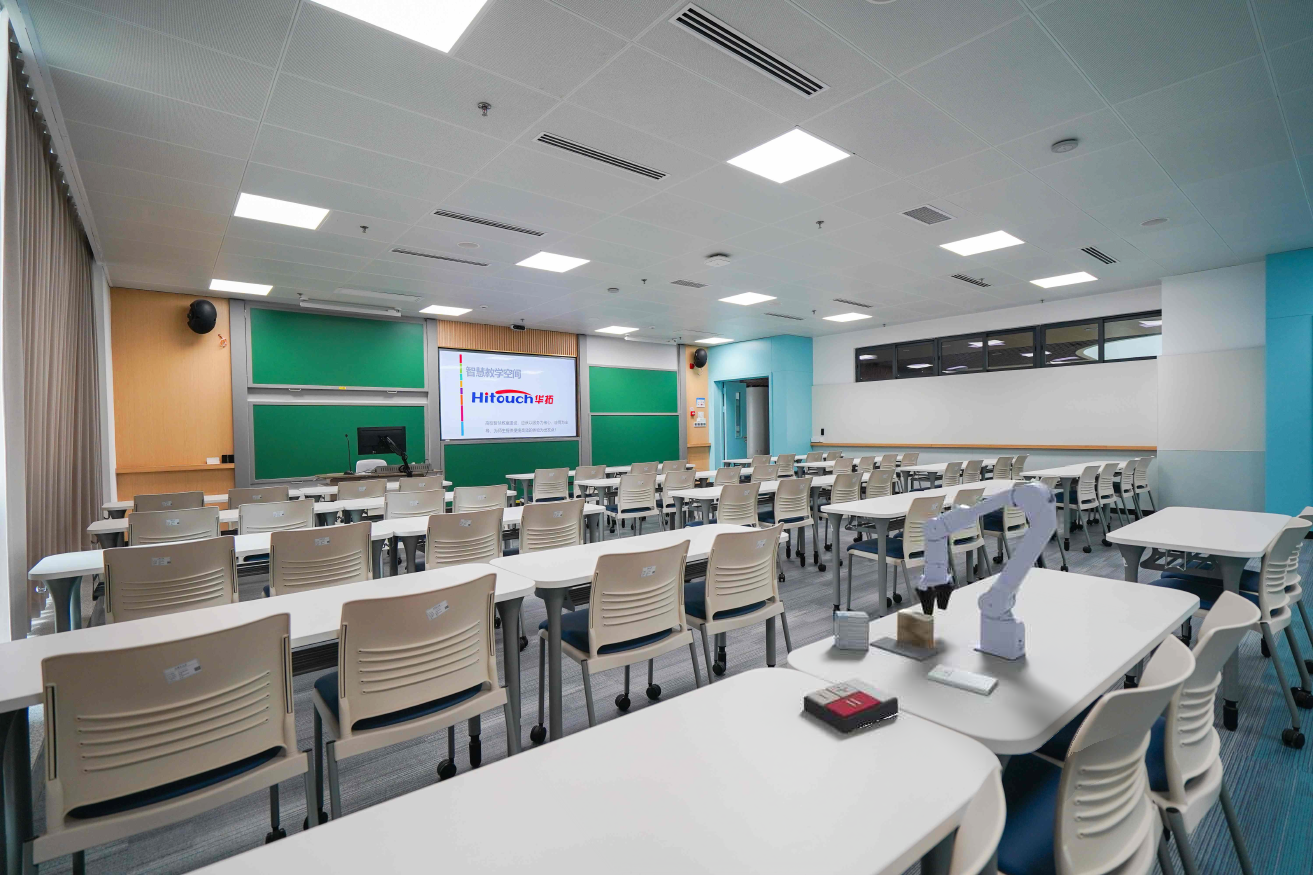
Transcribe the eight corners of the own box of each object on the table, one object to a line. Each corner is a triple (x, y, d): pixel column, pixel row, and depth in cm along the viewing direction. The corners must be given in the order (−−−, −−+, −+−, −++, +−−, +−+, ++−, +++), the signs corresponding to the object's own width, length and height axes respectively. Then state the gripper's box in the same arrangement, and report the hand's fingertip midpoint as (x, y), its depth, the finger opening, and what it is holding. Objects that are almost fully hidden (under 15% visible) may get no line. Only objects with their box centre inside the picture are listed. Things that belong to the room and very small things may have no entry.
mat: (937, 653, 149) (937, 652, 149) (921, 661, 144) (921, 659, 144) (886, 637, 160) (886, 636, 160) (869, 644, 155) (869, 642, 155)
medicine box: (865, 644, 155) (865, 611, 155) (869, 650, 151) (869, 616, 151) (834, 643, 156) (834, 610, 156) (837, 649, 152) (837, 615, 151)
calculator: (802, 693, 120) (855, 674, 127) (803, 714, 120) (855, 693, 127) (844, 716, 110) (898, 694, 118) (844, 739, 110) (899, 715, 118)
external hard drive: (988, 698, 126) (926, 680, 135) (998, 685, 132) (938, 669, 141) (988, 690, 126) (927, 673, 135) (998, 678, 132) (939, 662, 141)
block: (933, 646, 154) (933, 616, 153) (926, 650, 151) (926, 618, 151) (904, 638, 160) (904, 608, 160) (897, 641, 158) (897, 611, 158)
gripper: (934, 555, 169) (933, 603, 170) (907, 563, 160) (907, 613, 161) (959, 560, 164) (959, 609, 164) (933, 568, 155) (932, 620, 155)
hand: (935, 611), depth 162 cm, fingers open, 7 cm apart
